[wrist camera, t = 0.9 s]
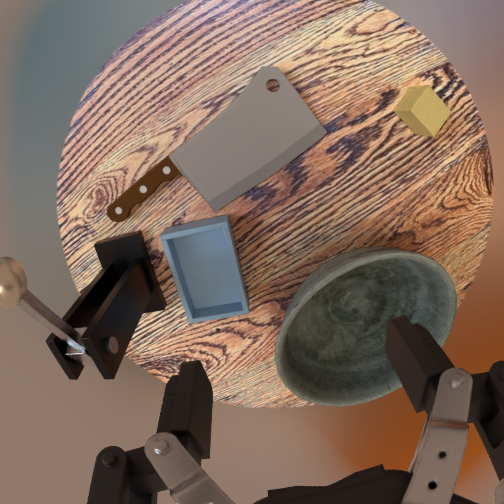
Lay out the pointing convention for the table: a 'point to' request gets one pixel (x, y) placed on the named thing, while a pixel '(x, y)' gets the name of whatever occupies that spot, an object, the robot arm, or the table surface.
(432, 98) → the butter pat
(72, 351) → the cutter lever
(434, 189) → the table surface
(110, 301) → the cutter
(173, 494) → the robot arm
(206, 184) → the kitchen cleaver
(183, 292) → the butter dish
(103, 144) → the table surface
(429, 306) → the bowl
